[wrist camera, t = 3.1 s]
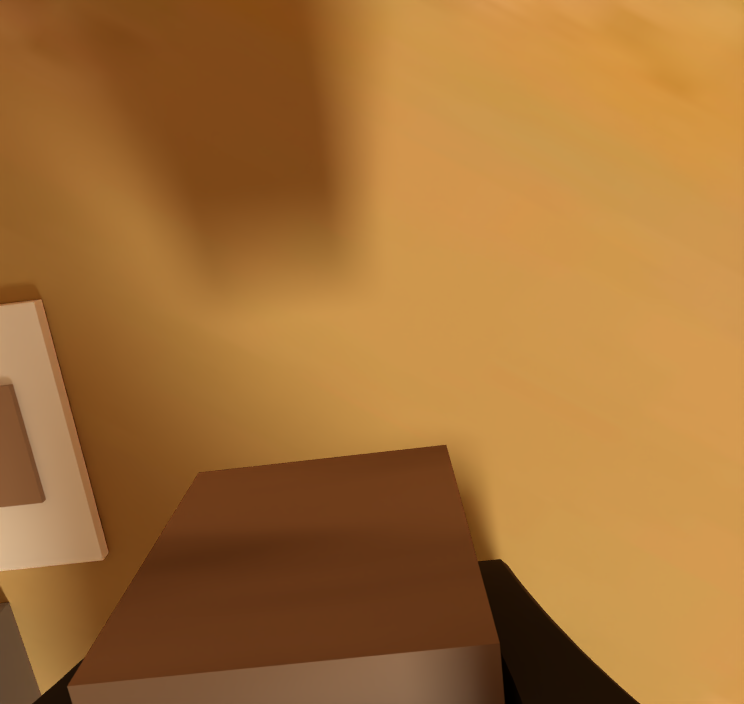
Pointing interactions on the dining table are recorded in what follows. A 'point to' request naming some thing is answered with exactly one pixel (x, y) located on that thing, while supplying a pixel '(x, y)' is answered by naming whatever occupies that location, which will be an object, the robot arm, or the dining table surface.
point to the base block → (14, 663)
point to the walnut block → (306, 593)
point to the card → (40, 453)
